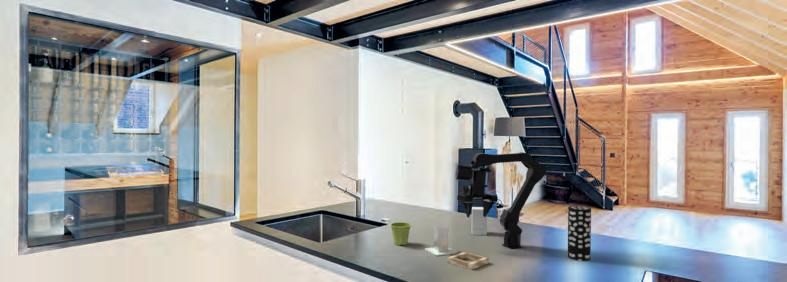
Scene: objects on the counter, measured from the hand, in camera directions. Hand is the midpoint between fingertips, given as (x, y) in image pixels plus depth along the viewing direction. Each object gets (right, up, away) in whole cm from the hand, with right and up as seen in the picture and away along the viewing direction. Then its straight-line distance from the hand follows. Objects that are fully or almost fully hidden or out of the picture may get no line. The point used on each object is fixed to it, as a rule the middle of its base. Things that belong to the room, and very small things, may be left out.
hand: (476, 217), depth 174 cm
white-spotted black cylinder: (+38, -14, -15) cm, 43 cm away
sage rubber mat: (-16, -13, -8) cm, 22 cm away
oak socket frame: (-8, -13, -23) cm, 27 cm away
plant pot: (-33, -13, +4) cm, 36 cm away
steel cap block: (-16, -12, -8) cm, 22 cm away
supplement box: (+6, -13, +24) cm, 28 cm away
